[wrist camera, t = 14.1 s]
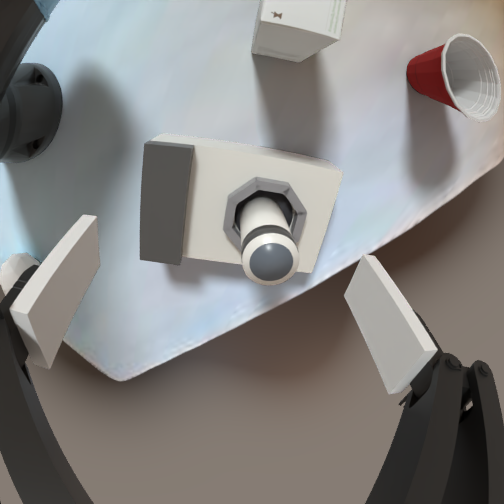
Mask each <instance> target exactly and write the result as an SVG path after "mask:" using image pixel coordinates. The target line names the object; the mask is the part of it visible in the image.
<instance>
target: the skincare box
mask: <svg viewBox="0 0 504 504" xmlns="http://www.w3.org/2000/svg"><path fill="white" fill-rule="evenodd" d="M346 2H347V0H260V4H259V8H258V13H257V18H256V23H255V30H254V36H253V42H252V49H251V52H252V53H254V54H259V55H264V56H269V57H275V58H280V59H285V60H289V61H294V62H298V63H300V62H302V61H303V60H305V59H306V58H308V57H310V56H311V55H313V54H315V53H317V52H318V51H320V50H322V49H324V48H326V47H327V46H329V45H331V44H333V43H335V42H336V41H339V40H340V36H341V31H342V25H343V20H344V14H345V8H346Z"/></svg>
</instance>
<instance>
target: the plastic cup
mask: <svg viewBox="0 0 504 504" xmlns="http://www.w3.org/2000/svg"><path fill="white" fill-rule="evenodd" d="M407 77H408V81H409V83H410V84H411V86H412V87H413V88H414V89H415V90H416V91H417V92H419V93H421V94H423V95H426V96H428V97H429V98H432V99H434V100H437V101H439V102H441V103H444V104H446V105H449V106H451V107H452V108H454V109H457V110H458V111H460V112H462V113H463V114H464V115H465V116H466V117H467V118H470V119H472V120H474V121H477V122H484V121H489V120H490V119H491V118H492V117H493V116H494V115H495V114H496V113H497V110H498V107H499V104H500V101H501V82H500V78H499V73H498V69H497V67H496V65H495V63H494V61H493V59H492V57H491V55H490V53H489V52H488V50H487V49H486V48H485V47H484V46H483V45H482V43H481V42H480V41H478V40H477V39H475V38H473V37H472V36H470V35H468V34H455V35H454V36H453V37H451V38H450V39H448V40H447V41H446V43H445V44H444V45H442V46H439V47H437V48H434V49H432V50H429V51H427V52H425V53H423V54H421V55H418V56H416V57H415V58H413V59H412V60H410V62H409V64H408V66H407Z"/></svg>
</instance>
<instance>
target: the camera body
mask: <svg viewBox="0 0 504 504" xmlns="http://www.w3.org/2000/svg"><path fill="white" fill-rule="evenodd" d="M342 176H343V172H342V171H341V170H340V169H338V168H337V167H336V166H335V165H333V164H332V163H331V162H329V161H328V160H323V159H319V158H315V157H310V156H306V155H301V154H297V153H292V152H287V151H282V150H277V149H272V148H266V147H261V146H255V145H249V144H243V143H237V142H231V141H224V140H217V139H210V138H202V137H194V136H185V135H176V134H166V133H161V134H160V135H158V136H156V137H155V138H153V139H151V140H150V141H148V142H146V143H145V144H144V155H143V168H142V184H141V206H140V260H145V261H152V262H159V263H167V264H174V265H180V263H181V259H182V257H188V258H196V259H203V260H211V261H218V262H226V263H234V264H241V265H242V258H241V233H240V210H241V208H242V206H243V205H244V204H245V203H246V202H247V201H248V200H249V199H251V198H253V197H256V196H267V197H270V198H272V199H274V200H275V201H277V202H278V204H279V205H280V207H281V209H282V211H283V214H284V216H285V219H286V221H287V224H288V227H289V229H290V232H291V234H292V236H293V238H294V240H295V243H296V246H297V248H298V252H299V257H300V261H299V266H298V269H297V270H296V271H297V272H305V273H312V271H313V268H314V265H315V262H316V259H317V256H318V253H319V250H320V247H321V244H322V241H323V238H324V235H325V232H326V229H327V226H328V223H329V220H330V216H331V213H332V210H333V207H334V203H335V200H336V197H337V193H338V190H339V187H340V183H341V180H342Z"/></svg>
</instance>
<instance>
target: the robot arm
mask: <svg viewBox="0 0 504 504" xmlns="http://www.w3.org/2000/svg"><path fill="white" fill-rule="evenodd" d="M59 1H60V0H0V162H4V163H20V162H24V161H27V160H29V159H31V158H33V157H35V156H37V155H39V154H40V153H41V152H43V151H44V150H45V149H46V148H47V146H48V145H49V144H50V142H51V141H52V139H53V137H54V136H55V133H56V131H57V129H58V126H59V122H60V118H61V111H62V96H61V90H60V86H59V83H58V81H57V79H56V77H55V75H54V74H53V72H52V71H51V70H50V69H49V68H47V67H46V66H44V65H42V64H38V63H22V64H20V63H21V61H22V59H23V58H24V56H25V54H26V52H27V51H28V49H29V47H30V46H31V44H32V42H33V41H34V39H35V37H36V36H37V34H38V33H39V31H40V30H41V28H42V27H43V25H44V24H45V22H48V20H49V18H50V14H51V13H52V11H53V10H54V8H55V7H56V5H57V4H58V2H59ZM99 267H100V257H99V243H98V224H97V216H92V215H84V214H83V215H82V216H81V217H80V218H79V220H78V221H77V222H76V223H75V224H74V225H73V226H72V227H71V229H70V230H69V231H68V232H67V233H66V234H65V235H64V237H63V238H62V239H61V240H60V241H59V243H58V244H57V245H56V246H55V247H54V249H53V250H52V251H51V252H50V254H49V255H48V256H47V257H46V259H45V260H44V261H43V262H42V264H41V265H40V266H39V265H32V266H31V267H29V268H28V269H26V270H25V271H24V272H23V273H22V274H21V276H20V277H19V278H18V281H16V282H15V284H14V285H13V288H11V289H10V290H9V292H8V293H7V295H6V296H5V298H4V299H3V300H2V302H1V303H0V451H1V454H2V456H3V459H4V462H5V464H6V467H7V469H8V472H9V474H10V476H11V479H12V481H13V483H14V485H15V487H16V490H17V492H18V494H19V496H20V498H21V500H22V502H23V504H94V503H93V502H92V501H91V499H90V497H89V496H88V494H87V493H86V491H85V490H84V488H83V487H82V485H81V483H80V482H79V480H78V479H77V477H76V475H75V473H74V472H73V470H72V468H71V466H70V465H69V463H68V461H67V459H66V457H65V456H64V454H63V452H62V450H61V448H60V446H59V444H58V442H57V440H56V438H55V436H54V434H53V431H52V429H51V427H50V425H49V423H48V421H47V418H46V416H45V413H44V411H43V409H42V406H41V404H40V401H39V399H38V396H37V393H36V391H35V388H34V385H33V382H32V379H31V377H30V374H29V370H28V367H27V365H26V363H25V361H26V359H27V356H28V354H29V356H30V358H31V360H32V362H33V364H35V365H38V366H41V367H44V368H47V369H50V368H51V365H52V363H53V361H54V358H55V356H56V354H57V351H58V349H59V346H60V344H61V342H62V340H63V338H64V335H65V333H66V331H67V329H68V327H69V325H70V323H71V320H72V318H73V316H74V314H75V312H76V310H77V308H78V306H79V304H80V302H81V300H82V298H83V296H84V294H85V292H86V291H87V289H88V287H89V285H90V283H91V281H92V279H93V278H94V276H95V274H96V272H97V270H98V268H99ZM344 297H345V299H346V301H347V303H348V305H349V307H350V309H351V311H352V313H353V315H354V317H355V319H356V322H357V324H358V326H359V328H360V330H361V332H362V335H363V337H364V339H365V341H366V343H367V345H368V347H369V350H370V352H371V354H372V357H373V359H374V361H375V363H376V366H377V368H378V370H379V373H380V375H381V377H382V379H383V382H384V384H385V387H386V389H387V391H388V394H394V393H400V392H403V391H404V389H405V388H406V387H407V386H408V385H409V384H410V385H411V387H412V390H411V391H410V392H409V393H408V394H407V396H405V397H404V399H403V400H402V401H401V402H400V403H399V405H400V406H401V405H402V404H403V403H404V402H406V403H405V406H404V410H403V413H402V416H401V419H400V422H399V425H398V428H397V431H396V433H395V436H394V439H393V442H392V444H391V447H390V450H389V452H388V454H387V457H386V460H385V462H384V464H383V466H382V469H381V471H380V473H379V476H378V478H377V480H376V482H375V484H374V487H373V489H372V491H371V493H370V495H369V497H368V499H367V501H366V503H365V504H504V424H503V419H502V413H501V408H500V403H499V399H498V394H497V390H496V386H495V382H494V378H493V374H492V372H491V369H490V368H489V366H488V365H487V364H486V363H485V362H482V361H479V360H477V361H475V362H474V363H473V364H472V366H471V367H470V368H469V367H464V366H462V364H461V362H460V361H459V360H458V359H457V357H455V356H454V355H452V354H449V353H443V351H442V350H441V348H440V347H439V345H438V343H437V342H436V340H435V338H434V337H433V335H432V334H431V332H429V329H428V327H427V326H425V325H426V324H425V323H424V321H423V320H422V318H421V317H420V316H419V315H418V314H417V313H416V312H415V311H414V310H413V309H412V308H411V307H410V305H409V304H408V302H407V301H406V299H405V298H404V296H403V295H402V294H401V292H400V291H399V289H398V288H397V286H396V285H395V283H394V282H393V281H392V279H391V278H390V277H389V275H388V274H387V273H386V271H385V269H384V268H383V267H382V265H381V264H380V263H379V261H378V260H377V259H376V257H375V256H371V255H364V254H363V255H362V258H361V260H360V262H359V264H358V267H357V269H356V271H355V273H354V276H353V278H352V280H351V282H350V284H349V287H348V289H347V291H346V293H345V295H344ZM471 401H472V403H473V406H472V407H471V408H470V409H469V410H466V406H467V405H468V404H469V402H471ZM0 504H1V503H0Z"/></svg>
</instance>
